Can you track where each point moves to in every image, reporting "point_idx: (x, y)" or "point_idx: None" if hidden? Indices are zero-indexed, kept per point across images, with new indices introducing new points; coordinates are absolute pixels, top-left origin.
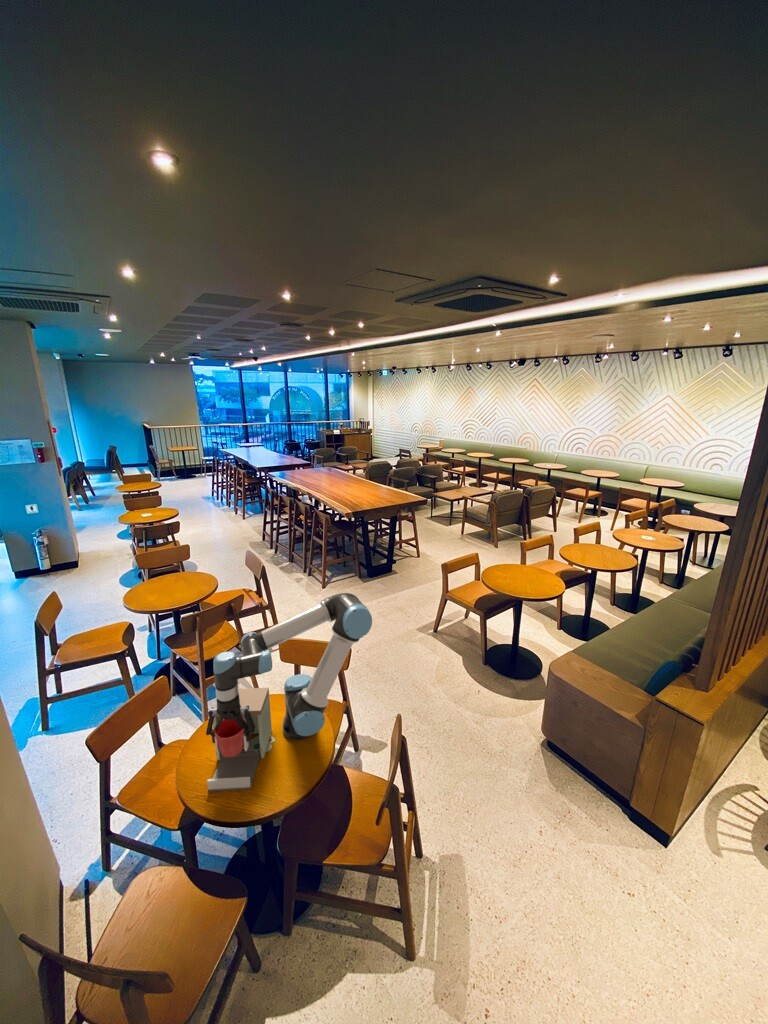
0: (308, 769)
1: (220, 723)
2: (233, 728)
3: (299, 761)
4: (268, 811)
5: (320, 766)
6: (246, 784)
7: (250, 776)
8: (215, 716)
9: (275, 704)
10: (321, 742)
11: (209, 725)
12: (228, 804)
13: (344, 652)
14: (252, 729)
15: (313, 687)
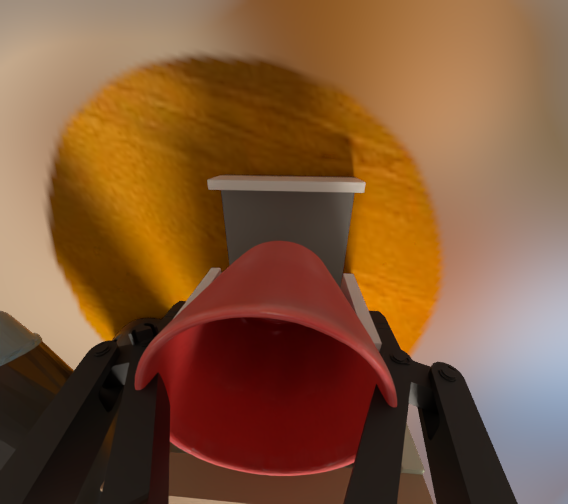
0: (81, 229)
1: (351, 500)
2: (283, 380)
3: (119, 257)
4: (128, 78)
5: (53, 235)
6: (226, 177)
7: (232, 215)
8: (404, 475)
9: None
10: (91, 305)
11: (483, 482)
12: (274, 120)
13: None
14: (76, 369)
15: None
